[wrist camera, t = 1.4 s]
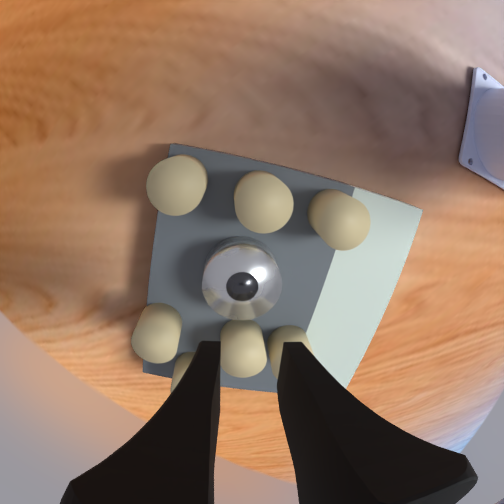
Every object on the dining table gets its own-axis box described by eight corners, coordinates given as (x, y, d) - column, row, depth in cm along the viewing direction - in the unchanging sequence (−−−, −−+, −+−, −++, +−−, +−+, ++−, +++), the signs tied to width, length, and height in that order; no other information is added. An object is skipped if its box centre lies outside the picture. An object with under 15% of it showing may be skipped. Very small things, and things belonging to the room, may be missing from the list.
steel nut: (284, 243, 17) (291, 257, 15) (266, 306, 18) (270, 326, 16) (211, 229, 17) (209, 241, 15) (199, 295, 18) (196, 313, 16)
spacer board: (410, 204, 18) (446, 221, 15) (336, 383, 23) (350, 418, 20) (170, 142, 16) (153, 143, 12) (142, 358, 21) (130, 396, 17)
